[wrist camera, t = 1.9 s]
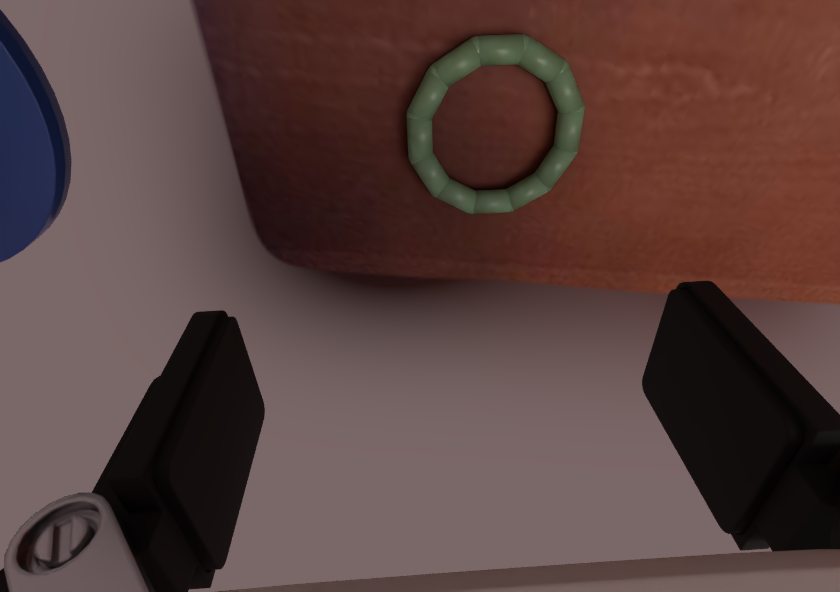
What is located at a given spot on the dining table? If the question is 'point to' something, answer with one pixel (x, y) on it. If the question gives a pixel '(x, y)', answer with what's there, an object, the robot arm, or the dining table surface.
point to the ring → (458, 66)
